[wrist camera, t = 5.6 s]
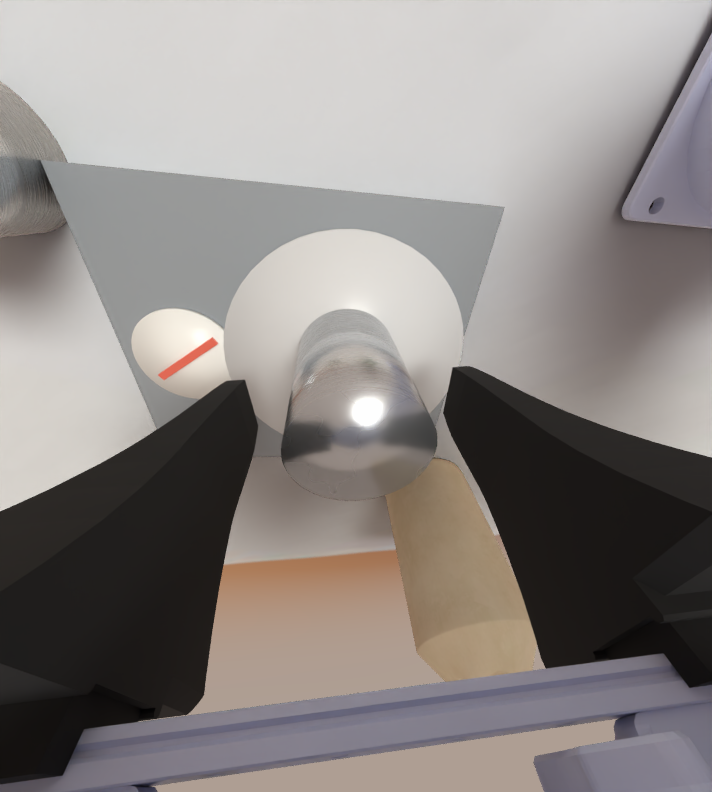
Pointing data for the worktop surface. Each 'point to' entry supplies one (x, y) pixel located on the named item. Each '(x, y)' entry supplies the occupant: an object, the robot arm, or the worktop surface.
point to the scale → (268, 278)
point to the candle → (457, 580)
